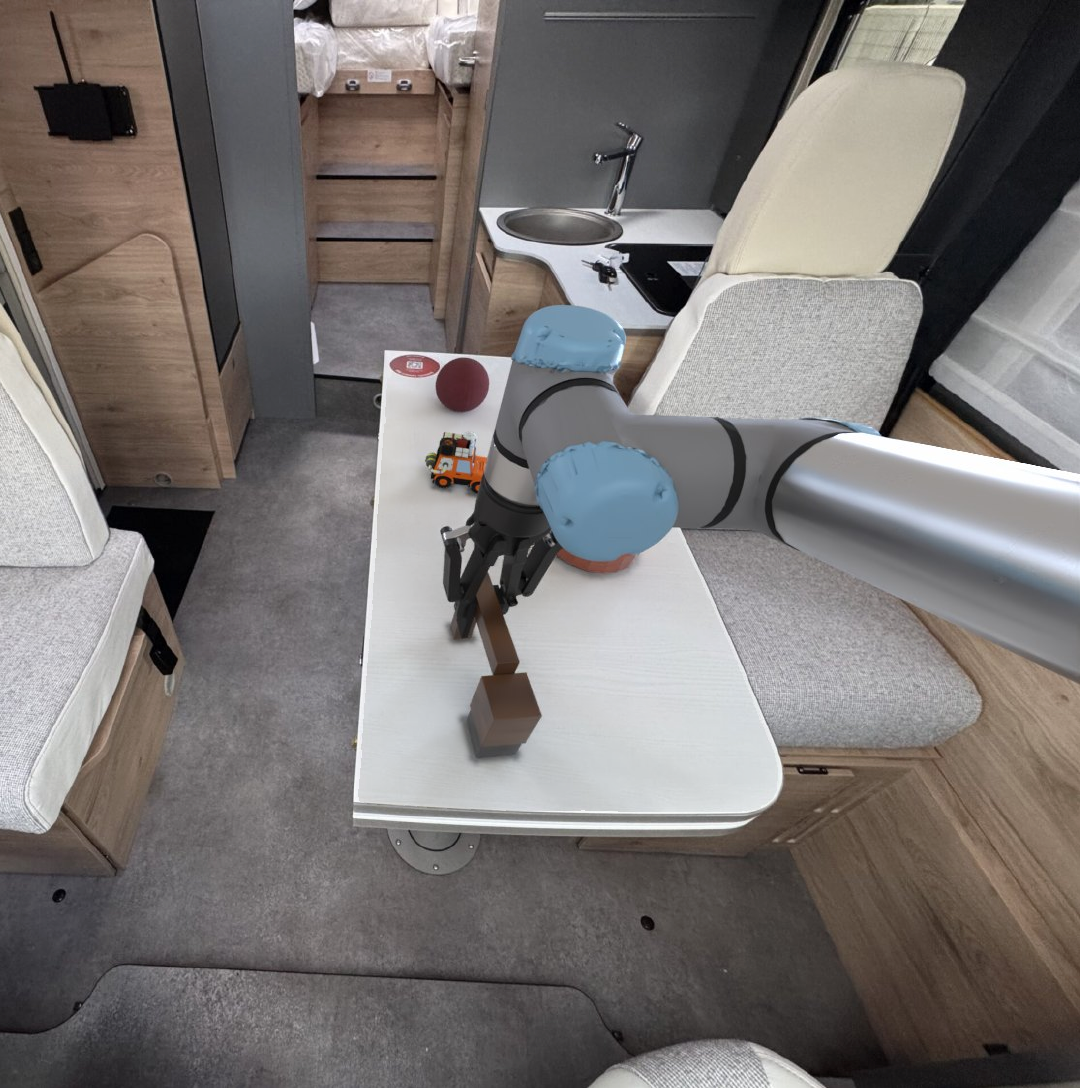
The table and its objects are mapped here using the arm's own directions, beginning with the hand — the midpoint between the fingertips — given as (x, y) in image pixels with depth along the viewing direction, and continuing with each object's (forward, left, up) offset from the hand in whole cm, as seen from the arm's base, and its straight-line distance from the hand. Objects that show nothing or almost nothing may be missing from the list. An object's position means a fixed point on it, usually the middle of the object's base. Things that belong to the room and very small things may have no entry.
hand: (474, 627), depth 70 cm
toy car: (+34, -7, -6) cm, 35 cm away
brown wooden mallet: (-5, 0, -5) cm, 7 cm away
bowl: (+18, -24, -6) cm, 31 cm away
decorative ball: (+55, -12, -6) cm, 56 cm away
